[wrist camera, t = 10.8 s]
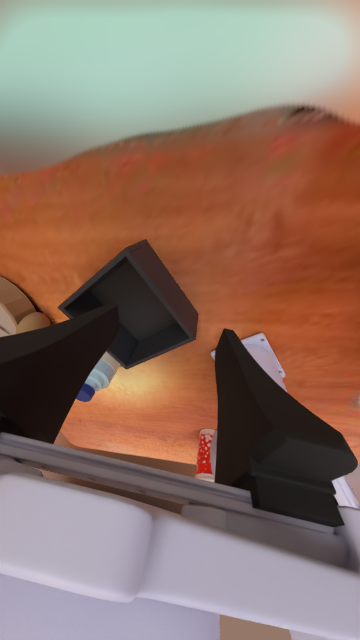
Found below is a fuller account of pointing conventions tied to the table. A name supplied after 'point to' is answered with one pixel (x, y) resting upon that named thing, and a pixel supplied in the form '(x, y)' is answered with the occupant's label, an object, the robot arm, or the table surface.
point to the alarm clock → (18, 311)
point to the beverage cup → (204, 456)
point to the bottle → (99, 377)
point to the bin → (138, 305)
